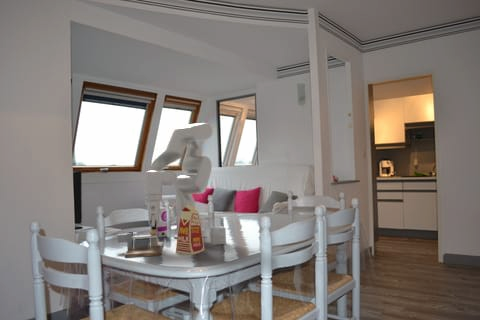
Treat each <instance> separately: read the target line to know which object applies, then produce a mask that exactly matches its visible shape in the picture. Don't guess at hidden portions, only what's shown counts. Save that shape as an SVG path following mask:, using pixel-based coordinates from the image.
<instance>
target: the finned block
mask: <svg viewBox="0 0 480 320" xmlns="http://www.w3.org/2000/svg"><path fill="white" fill-rule="evenodd" d="M150 243H151V238H140V239H133V244H134V250H142V249H149V247H150Z"/></svg>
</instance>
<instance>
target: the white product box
mask: <svg viewBox="0 0 480 320" xmlns="http://www.w3.org/2000/svg"><path fill="white" fill-rule="evenodd" d="M160 210H161V222H160V223H158V239H159V238H165V237H167V235H168V219H167V218H168V217H167V216H168V213H167V209H166V206H160Z"/></svg>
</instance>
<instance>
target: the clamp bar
mask: <svg viewBox="0 0 480 320" xmlns="http://www.w3.org/2000/svg"><path fill="white" fill-rule="evenodd" d="M156 237H157V234H156V235H151V234H143V235H133V236H132V239H133V240H135V239H140V238H150V239H151V238H156ZM117 243H119V244H120V243H122V244H123V243H127V233H118V234H117Z"/></svg>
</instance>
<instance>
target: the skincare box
mask: <svg viewBox="0 0 480 320" xmlns="http://www.w3.org/2000/svg"><path fill="white" fill-rule="evenodd" d="M226 231H227V230H226V227H224V226H222V225H220V226H210V227H209V235H210V236H209V237H210V244H212V245H213V246H216V245H217V246H219V245H226V244H227V236H226V235H227V234H226V233H227V232H226Z"/></svg>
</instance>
